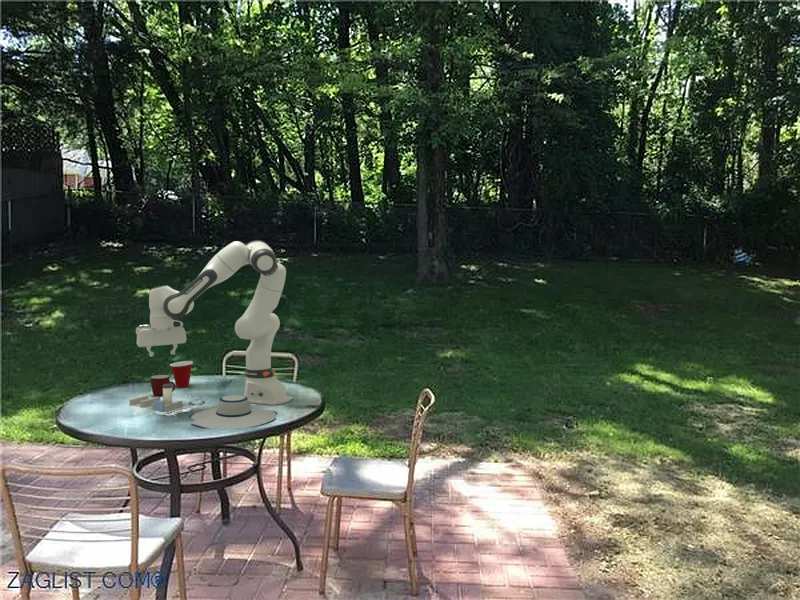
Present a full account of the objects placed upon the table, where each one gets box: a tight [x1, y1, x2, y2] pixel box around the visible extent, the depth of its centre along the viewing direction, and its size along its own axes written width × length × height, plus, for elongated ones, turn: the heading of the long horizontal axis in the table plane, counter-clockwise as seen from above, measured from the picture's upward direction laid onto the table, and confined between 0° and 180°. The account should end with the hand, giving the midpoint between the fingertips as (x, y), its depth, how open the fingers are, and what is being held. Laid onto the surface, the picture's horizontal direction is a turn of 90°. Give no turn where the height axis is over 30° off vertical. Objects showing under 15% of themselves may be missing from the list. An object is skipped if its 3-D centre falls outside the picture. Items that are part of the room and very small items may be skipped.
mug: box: [150, 374, 176, 398], centre depth 316 cm, size 11×8×10 cm
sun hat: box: [188, 394, 278, 429], centre depth 284 cm, size 36×36×9 cm
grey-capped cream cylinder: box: [162, 384, 173, 405], centre depth 292 cm, size 4×4×10 cm
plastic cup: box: [169, 360, 194, 389], centre depth 339 cm, size 11×11×12 cm
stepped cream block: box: [128, 394, 184, 415], centre depth 296 cm, size 22×10×6 cm, turn 61°
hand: (162, 355), depth 299 cm, fingers open, 7 cm apart
